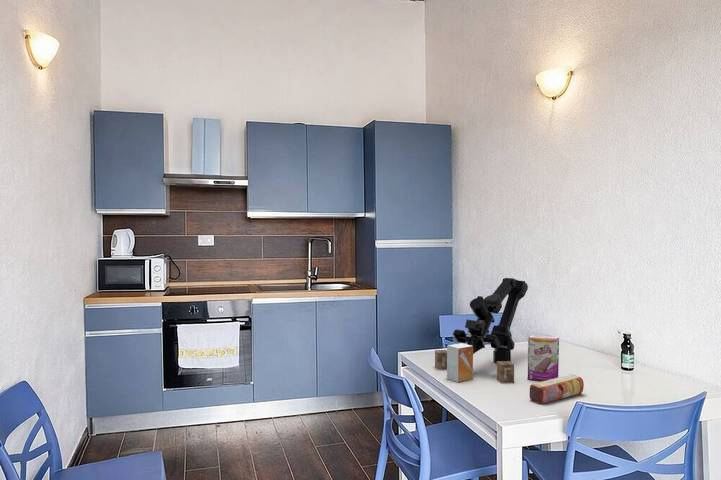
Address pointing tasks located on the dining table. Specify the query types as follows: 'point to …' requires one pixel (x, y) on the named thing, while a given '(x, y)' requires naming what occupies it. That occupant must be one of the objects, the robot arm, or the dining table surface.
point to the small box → (459, 362)
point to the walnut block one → (441, 359)
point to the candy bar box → (543, 358)
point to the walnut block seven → (505, 372)
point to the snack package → (556, 388)
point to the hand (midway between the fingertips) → (468, 356)
